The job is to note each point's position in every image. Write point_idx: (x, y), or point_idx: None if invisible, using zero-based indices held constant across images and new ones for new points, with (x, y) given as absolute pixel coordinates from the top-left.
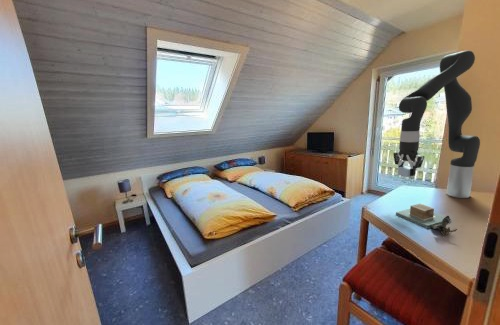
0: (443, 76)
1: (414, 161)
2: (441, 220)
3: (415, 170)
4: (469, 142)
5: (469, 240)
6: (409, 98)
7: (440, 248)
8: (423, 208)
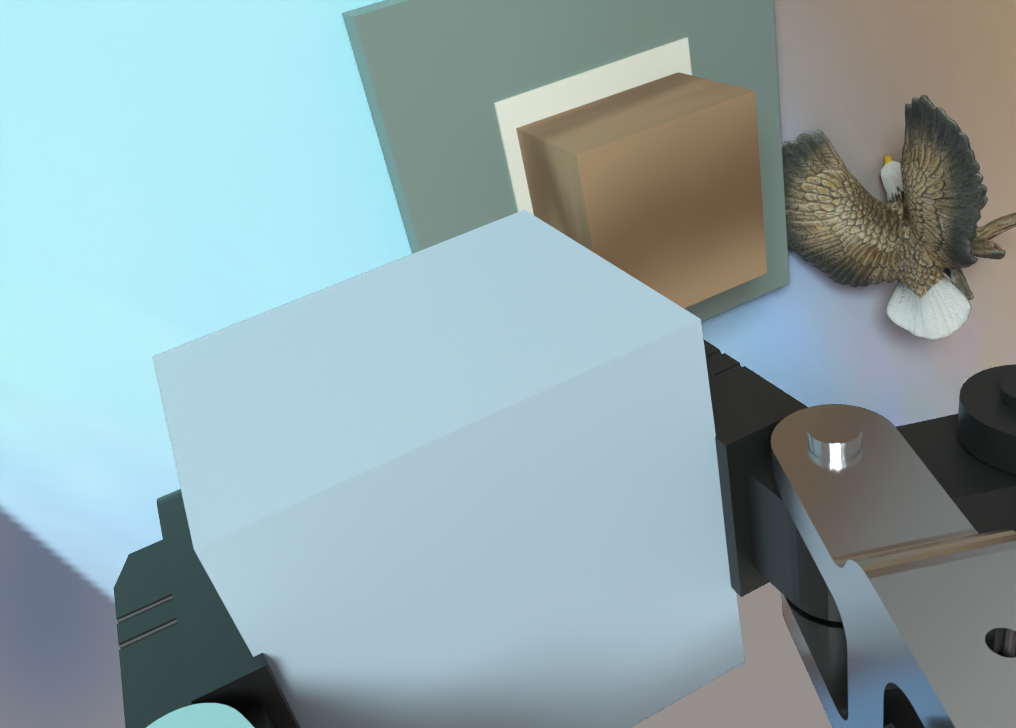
0: None
1: (1011, 656)
2: (762, 51)
3: (781, 403)
4: None
5: (992, 79)
6: None
7: (962, 371)
8: (714, 233)
